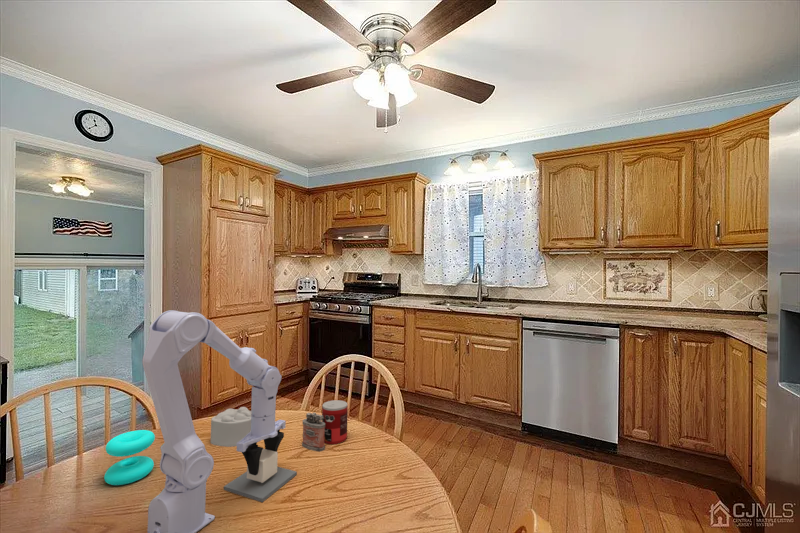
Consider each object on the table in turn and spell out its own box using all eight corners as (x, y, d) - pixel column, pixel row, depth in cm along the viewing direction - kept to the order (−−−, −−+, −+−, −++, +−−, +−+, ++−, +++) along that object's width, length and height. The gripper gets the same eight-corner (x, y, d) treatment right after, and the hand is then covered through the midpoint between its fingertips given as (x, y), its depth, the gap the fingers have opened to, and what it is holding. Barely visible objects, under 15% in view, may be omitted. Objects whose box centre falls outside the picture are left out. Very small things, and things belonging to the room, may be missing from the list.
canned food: (319, 436, 111) (320, 402, 111) (343, 431, 114) (343, 398, 115) (324, 446, 104) (325, 410, 104) (349, 441, 107) (350, 406, 108)
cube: (262, 482, 82) (263, 461, 82) (246, 478, 84) (247, 457, 84) (277, 472, 87) (277, 452, 87) (261, 467, 89) (262, 448, 89)
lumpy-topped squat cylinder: (229, 429, 115) (229, 403, 115) (263, 433, 112) (264, 407, 113) (205, 444, 105) (206, 415, 105) (242, 449, 102) (243, 419, 102)
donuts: (97, 448, 82) (117, 430, 91) (95, 491, 81) (115, 468, 91) (146, 442, 85) (160, 426, 94) (144, 483, 84) (159, 463, 94)
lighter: (299, 446, 104) (300, 413, 104) (307, 441, 107) (307, 409, 107) (319, 452, 100) (320, 418, 101) (327, 447, 103) (328, 414, 104)
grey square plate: (262, 502, 78) (262, 498, 78) (223, 489, 82) (223, 486, 82) (296, 474, 89) (296, 471, 89) (260, 465, 93) (261, 462, 93)
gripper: (253, 427, 78) (251, 487, 77) (295, 405, 91) (293, 457, 91) (230, 422, 81) (228, 480, 80) (274, 401, 94) (273, 452, 94)
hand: (261, 468), depth 86 cm, fingers closed on cube, 5 cm apart
